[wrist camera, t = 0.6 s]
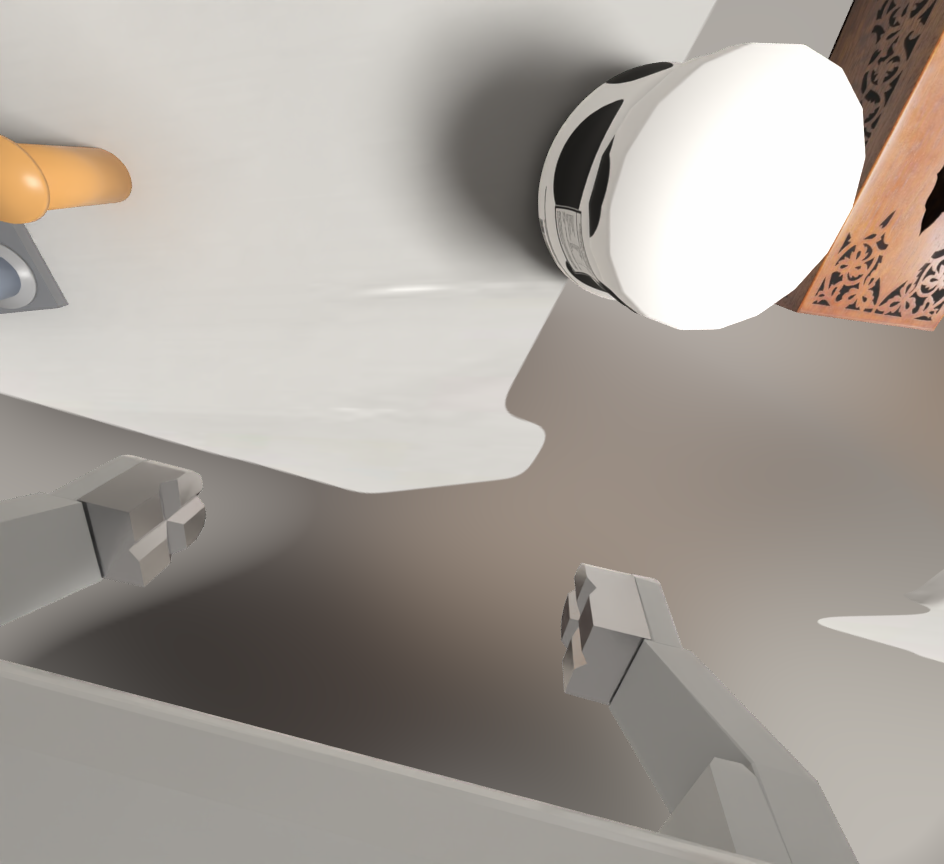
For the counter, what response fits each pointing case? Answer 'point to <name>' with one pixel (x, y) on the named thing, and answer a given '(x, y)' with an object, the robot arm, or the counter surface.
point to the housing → (24, 274)
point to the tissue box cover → (889, 173)
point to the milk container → (704, 182)
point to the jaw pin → (56, 179)
